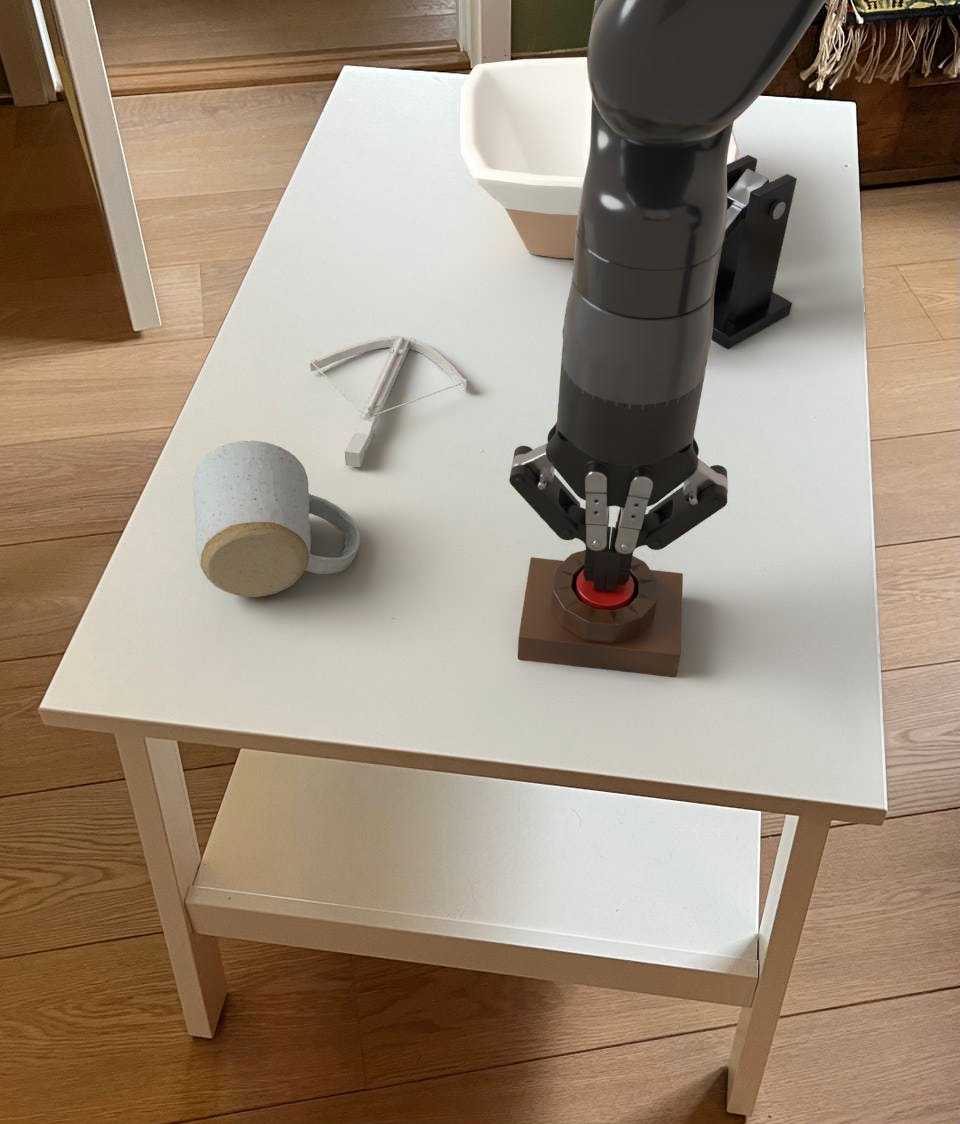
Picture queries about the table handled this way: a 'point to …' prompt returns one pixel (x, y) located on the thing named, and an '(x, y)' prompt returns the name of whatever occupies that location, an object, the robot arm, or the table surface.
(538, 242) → the bowl
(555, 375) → the table surface
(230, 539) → the ceramic mug
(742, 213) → the lever
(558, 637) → the button block
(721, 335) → the bracket
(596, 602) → the button
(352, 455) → the crossbow
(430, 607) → the table surface
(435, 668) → the table surface
